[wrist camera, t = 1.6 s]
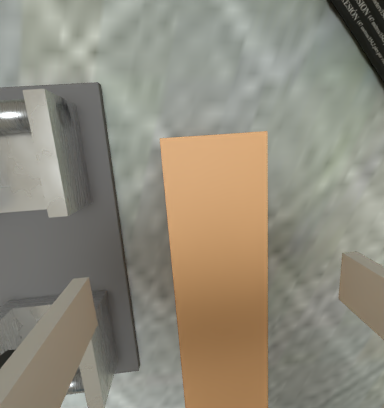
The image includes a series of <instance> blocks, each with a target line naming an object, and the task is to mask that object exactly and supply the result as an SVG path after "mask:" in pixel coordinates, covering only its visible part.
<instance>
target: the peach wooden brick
mask: <svg viewBox="0 0 384 408" xmlns="http://www.w3.org/2000/svg"><path fill="white" fill-rule="evenodd" d="M160 147H161V157H162V168H163V178H164V188H165V199H166V209H167V220H168V230H169V241H170V251H171V261H172V272H173V282H174V293H175V303H176V314H177V324H178V335H179V345H180V355H181V366H182V376H183V387H184V397H185V408H268V182H267V131H263V132H248V133H234V134H219V135H204V136H189V137H175V138H160Z"/></svg>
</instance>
